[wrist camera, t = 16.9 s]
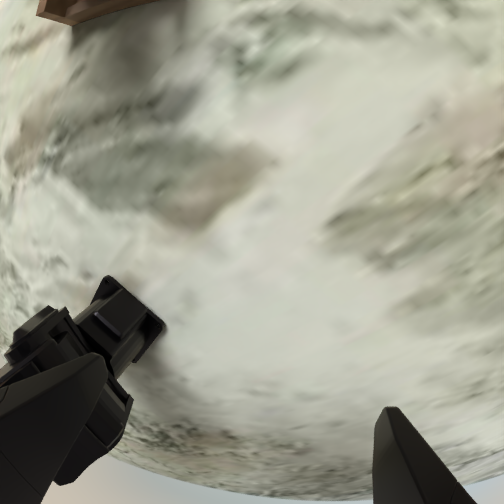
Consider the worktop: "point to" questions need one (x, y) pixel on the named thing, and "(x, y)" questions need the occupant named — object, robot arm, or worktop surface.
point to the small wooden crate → (82, 9)
